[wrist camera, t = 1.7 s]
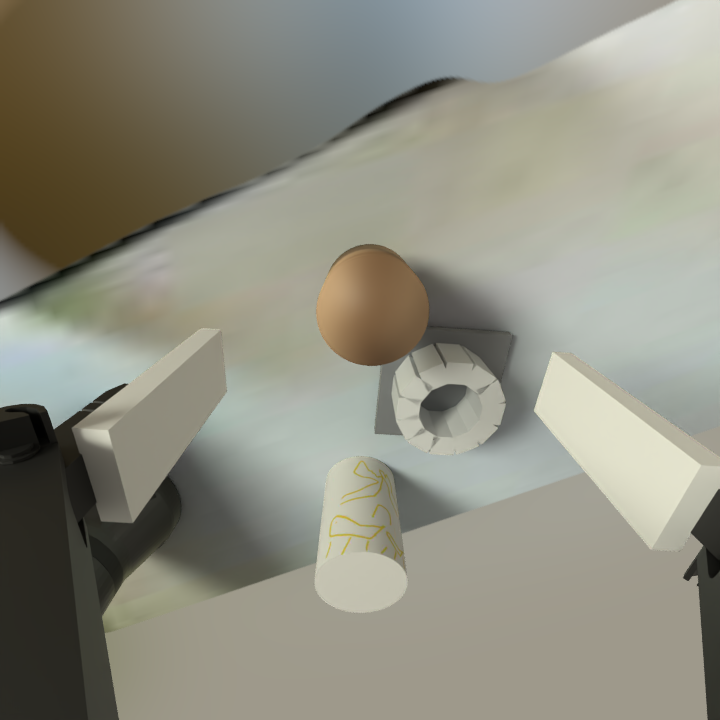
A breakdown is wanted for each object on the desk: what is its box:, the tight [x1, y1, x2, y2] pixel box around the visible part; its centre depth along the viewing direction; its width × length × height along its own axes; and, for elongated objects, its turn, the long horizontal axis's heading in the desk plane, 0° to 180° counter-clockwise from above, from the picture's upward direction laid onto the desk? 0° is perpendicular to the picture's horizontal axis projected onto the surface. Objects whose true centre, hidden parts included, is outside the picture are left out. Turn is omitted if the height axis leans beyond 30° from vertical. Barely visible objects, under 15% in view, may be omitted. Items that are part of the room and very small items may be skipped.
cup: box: [314, 456, 408, 613], centre depth 36 cm, size 8×8×12 cm
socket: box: [374, 326, 513, 455], centre depth 33 cm, size 12×12×6 cm
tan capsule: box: [316, 244, 429, 366], centre depth 27 cm, size 7×7×11 cm
